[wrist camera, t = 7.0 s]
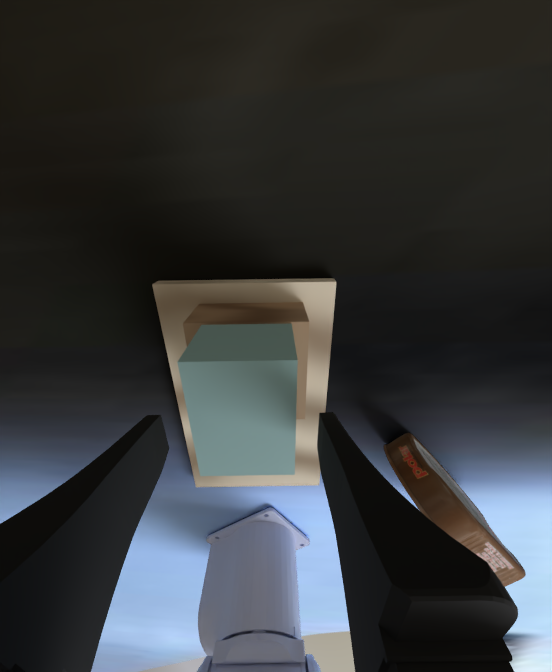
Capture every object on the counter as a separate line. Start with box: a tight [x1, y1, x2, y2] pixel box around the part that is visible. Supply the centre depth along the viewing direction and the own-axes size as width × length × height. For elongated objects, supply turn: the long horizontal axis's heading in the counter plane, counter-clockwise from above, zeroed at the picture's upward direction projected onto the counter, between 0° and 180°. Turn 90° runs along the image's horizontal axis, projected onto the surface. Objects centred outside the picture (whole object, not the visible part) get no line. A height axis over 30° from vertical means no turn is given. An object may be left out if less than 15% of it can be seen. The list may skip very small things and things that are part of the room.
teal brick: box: [177, 324, 298, 476], centre depth 14 cm, size 5×7×4 cm
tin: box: [384, 433, 525, 587], centre depth 22 cm, size 15×3×8 cm, turn 42°
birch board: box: [152, 278, 336, 487], centre depth 22 cm, size 20×12×1 cm, turn 1°
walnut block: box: [183, 302, 309, 419], centre depth 18 cm, size 7×7×4 cm
